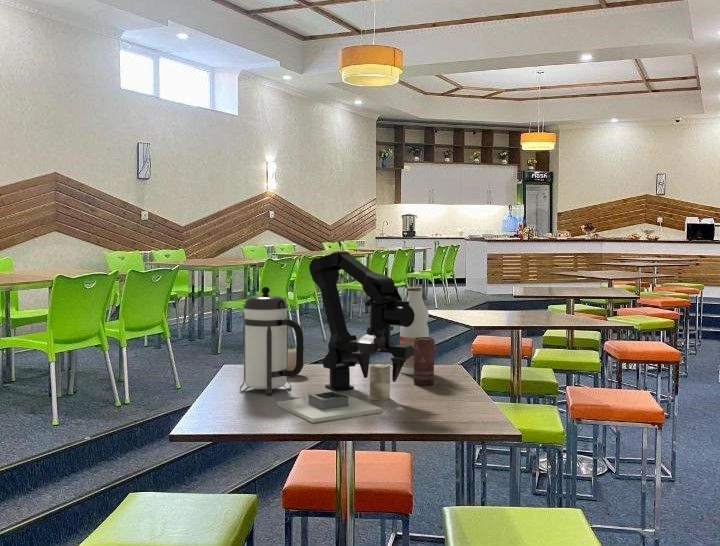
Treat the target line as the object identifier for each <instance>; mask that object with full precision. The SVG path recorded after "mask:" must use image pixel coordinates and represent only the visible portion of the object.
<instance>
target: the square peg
mask: <svg viewBox="0 0 720 546" xmlns="http://www.w3.org/2000/svg"><path fill="white" fill-rule="evenodd" d="M390 393H391V365H387V364H379V363H378V364H374V365H371V366H370V365H369V399H370V400H375V401H382V402H383V401H386V400H389V399H391V394H390Z"/></svg>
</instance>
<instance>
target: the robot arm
mask: <svg viewBox="0 0 720 546" xmlns="http://www.w3.org/2000/svg"><path fill="white" fill-rule="evenodd" d="M308 269H309V272H310V274H309V275H310V276H311V279H312V281H313V282H314V284H315V285H317V287H318V288H319V290H320V295H321V298H322V301H323V306H324V311H325V315H326V320H327V323H328V327H329V332H330V333H329V334H330V337H329V340H328V343H327V347H328V352H327V354H326V355H325V356H324V358H323V359H322V365H323V368H325V369H329V384H324V387H325V388H327V389H329V390H331V391H343V390H349V389H350V390H351V389H355V386H353V385H351V383H350V382H351V379H350V378H351V375H350V374H351V373H350V368H351V367H356V366H357V363H358V364H359V366H360V370H361V372H362V375H363V378H364V379H367V378H368V375H369V371H370V359H371V358H370V357H371V356H370V355H374V354H375V353H376V352H378V353H387V354H391V355H392V356H393V357H391V358H390V360H391V362H392V375H391V376H392V382H393V383H396V381H397V379H398V377H399V375H400V373H401V372H400V371H401V369H402V366H403V365H404V363H405V361H406V360H407V359H409V358H410V357H411V356H414V348H413V346H412V345H404V344H400V343H399V344H397V345H394V341H392V340H391V338H392V337H391V334H392V331H393V330H394V326H397V327H401V326H402V327H409V326H410V325H411V324H412V323H413V321H414V317H415V314H414V311H413V309H412V308H411V307H410V306H409V301H407V300H405V301H404V300H403V299H402V297H401V295H400V292H399V290H398V289H397V287H396V285H395V281H394V279H392V278H391V277H389V276H387V275H385V274H382V273H377V272H375V271H373V270H371V269H370V268H369V267H367V266H366V265H365V264H363V263H362V262H361V261H359V260H357V259H356V258H355V257H354V256H353V255H351V253H350V252H349V251H345V250H343V251H339V250H338V251H334V252H331V253H330V254H327V255H324V256H320V257H314V258H312V260H311V261H310V264H309V265H308ZM341 270H343V272H345V273H346V274H347V275H349V276H350V277H352V278H353V280H355V281H356V282H358V283H359V284H360V285H361V287H362V291H363V292H364V293H365V294H366V295H367V297H369V299H368V300H367V301H366V302H365V303H364V306H365V307H369V308H370V309H369V326H367V328H366V334H364V335H362V337H360V338H359V339H358V338H357V336H356V334H351V333H350V332H349V330H348V327H347V323H346V319H345V316H344V315H345V314H344V310H343V307H342V302H341V298H340V295H339V294H340V293H339V289H338V286H337V284H338V280H339V277H340V271H341Z"/></svg>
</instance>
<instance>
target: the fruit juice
mask: <svg viewBox="0 0 720 546" xmlns="http://www.w3.org/2000/svg"><path fill="white" fill-rule="evenodd" d="M407 294H408V295H407V298H406V301H409V306H410V307H411V308H412V309H413V311H414V314H415V317H414V321H413V323H412V324H411V325H410V326H409V327H402V326H400V330H399V331H400V332H399V345H400V344H404V345H412V346H413V348H414V340H415V338H417V337H429V338H430V333H429V332H430V328H429V325H428V320H429V310H428V308H427V306H426V305H425V302H424V299H423V295H422V294H423V287H422V286H408V287H407ZM400 373H402V374H405V375H413V376H414V356H411V357H410V358H409V359H407V360H406V361H405V363H404V365H403V366H402V369H401V371H400Z"/></svg>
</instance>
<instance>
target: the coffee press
mask: <svg viewBox="0 0 720 546" xmlns="http://www.w3.org/2000/svg"><path fill="white" fill-rule="evenodd" d="M270 291H271V290H270V288H269V287H268V286H263V287H262V289H261V293H262V294H260V295H253V296H252V295H251V296H249V297H248V298H247V299H245V301H244V304H243V305H242V309H243V314H244V317H243V382H242V384H241V385H240V386H239V391H240V393H244V392H246V391H247V390H248V389H255V390H265V391H266V396H268V397H269V396H273V390H276V389H279V388H281V387H285V389H287V390H291V389H292V385H291V383H290V382H289V379H288V377H289V378H291V377H294V376H295V377H296V376H297V375H299V374H300V373H301V372H302V370H303V368H304V367H303V353H304V351H303V349H304V334H303V329H302V326H301V325H300V324H299V322H297V321H295V320H293V319H288V316H287V315H288V314H287V313H288V308H289V304H288V303H287V301H286V299H285V298H283V297H282V296H280V295H272V294H270ZM288 327H291V328H292V329H293V330H294V332H295V337H296V338H295V339H296V341H295V343H296V344H295V345H296V346H295V347H296V367H295V369H294V370H292V371H291V370H288V348H289V346H288V345H289V344H288V343H289V342H288V341H289V340H288V336H289V335H288ZM302 367H303V368H302ZM287 383H288V384H289V387H287V386H285V385H286V384H287ZM244 385H245V386H246V388H245V389H242V388H243V386H244ZM241 389H242V390H241Z"/></svg>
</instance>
